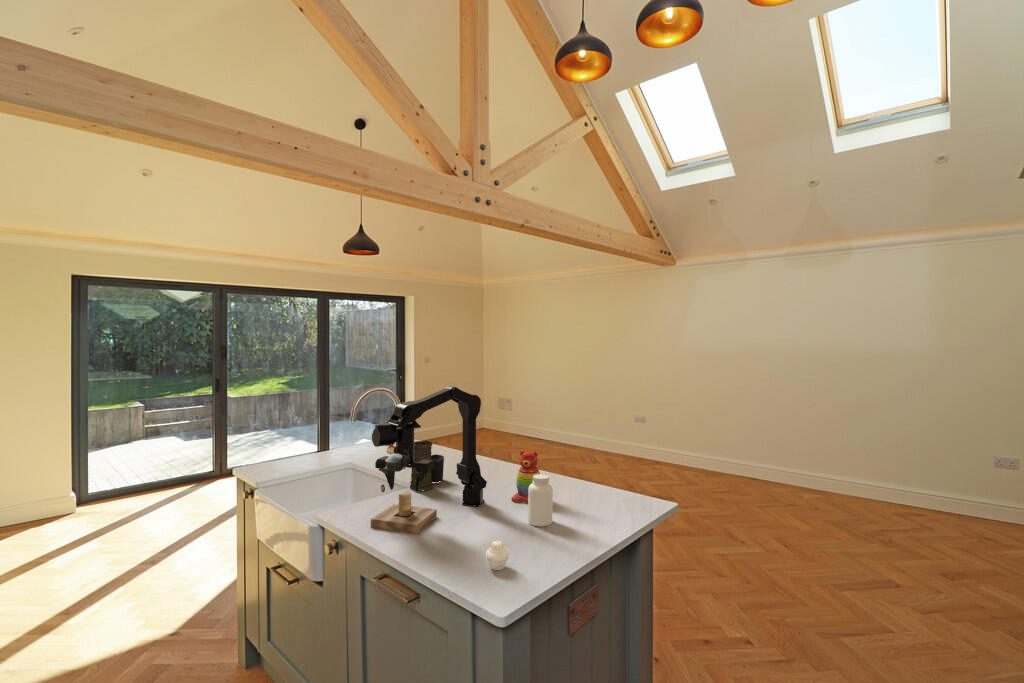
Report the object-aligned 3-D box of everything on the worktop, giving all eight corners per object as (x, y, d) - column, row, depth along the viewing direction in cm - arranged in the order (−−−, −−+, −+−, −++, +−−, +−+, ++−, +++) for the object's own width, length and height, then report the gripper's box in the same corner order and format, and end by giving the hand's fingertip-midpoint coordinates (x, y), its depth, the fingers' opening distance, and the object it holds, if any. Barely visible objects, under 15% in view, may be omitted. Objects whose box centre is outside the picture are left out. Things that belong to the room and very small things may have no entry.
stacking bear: (509, 501, 169) (510, 453, 169) (519, 493, 178) (520, 447, 178) (537, 506, 165) (538, 456, 165) (546, 497, 174) (546, 450, 174)
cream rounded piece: (493, 576, 115) (494, 548, 115) (480, 566, 120) (481, 539, 120) (513, 569, 119) (514, 542, 119) (500, 560, 124) (500, 533, 124)
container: (427, 492, 178) (428, 445, 179) (406, 490, 180) (406, 444, 180) (436, 485, 187) (436, 441, 187) (415, 483, 189) (415, 439, 189)
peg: (413, 520, 150) (413, 492, 150) (407, 524, 147) (407, 496, 147) (402, 518, 152) (402, 491, 152) (395, 523, 148) (396, 495, 148)
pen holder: (441, 484, 189) (442, 460, 189) (418, 484, 189) (419, 459, 189) (445, 477, 198) (445, 454, 198) (423, 477, 198) (423, 454, 198)
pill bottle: (554, 519, 152) (555, 474, 152) (548, 528, 145) (549, 481, 145) (531, 516, 155) (532, 471, 155) (524, 525, 147) (525, 478, 147)
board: (436, 516, 154) (436, 509, 154) (416, 533, 140) (416, 525, 140) (393, 511, 158) (394, 504, 158) (370, 526, 145) (370, 518, 145)
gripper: (365, 445, 144) (364, 495, 144) (419, 450, 139) (418, 502, 139) (385, 438, 155) (384, 485, 155) (435, 442, 149) (435, 491, 149)
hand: (404, 490), depth 149 cm, fingers open, 9 cm apart
